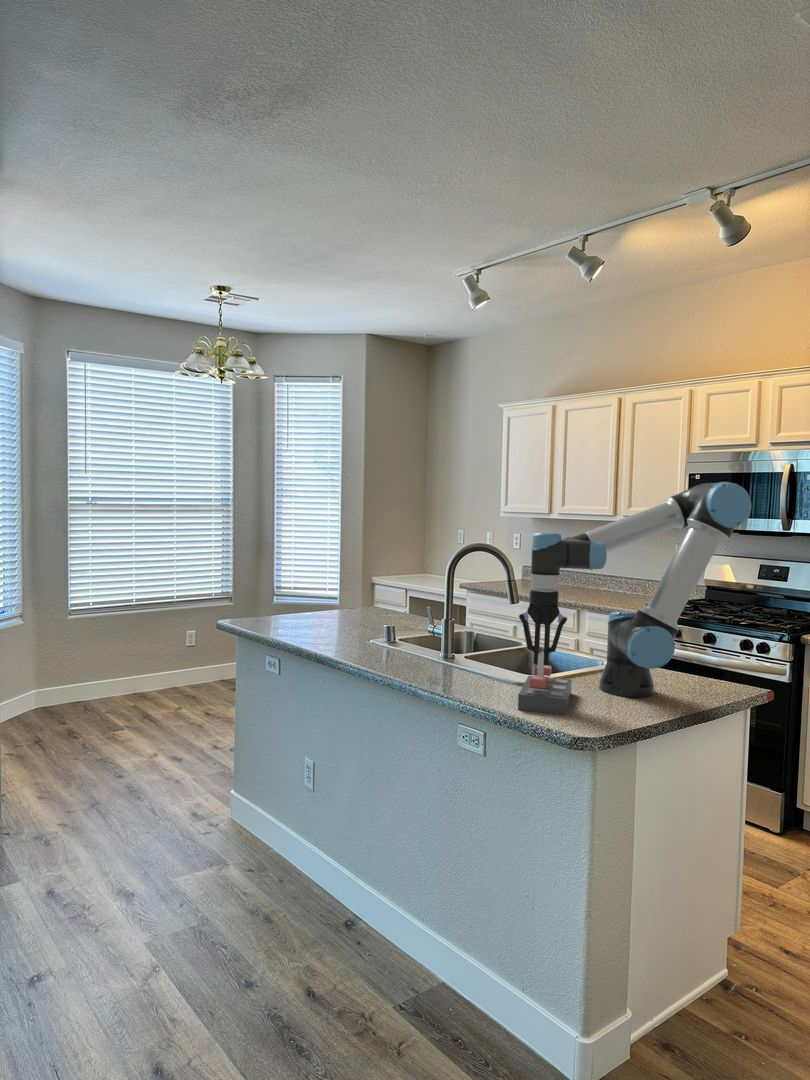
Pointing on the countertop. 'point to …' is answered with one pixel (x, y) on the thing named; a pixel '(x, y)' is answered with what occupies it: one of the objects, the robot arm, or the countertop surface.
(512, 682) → the countertop surface
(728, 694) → the countertop surface
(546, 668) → the button
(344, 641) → the countertop surface
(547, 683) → the button
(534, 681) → the button
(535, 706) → the dark grey flat block
